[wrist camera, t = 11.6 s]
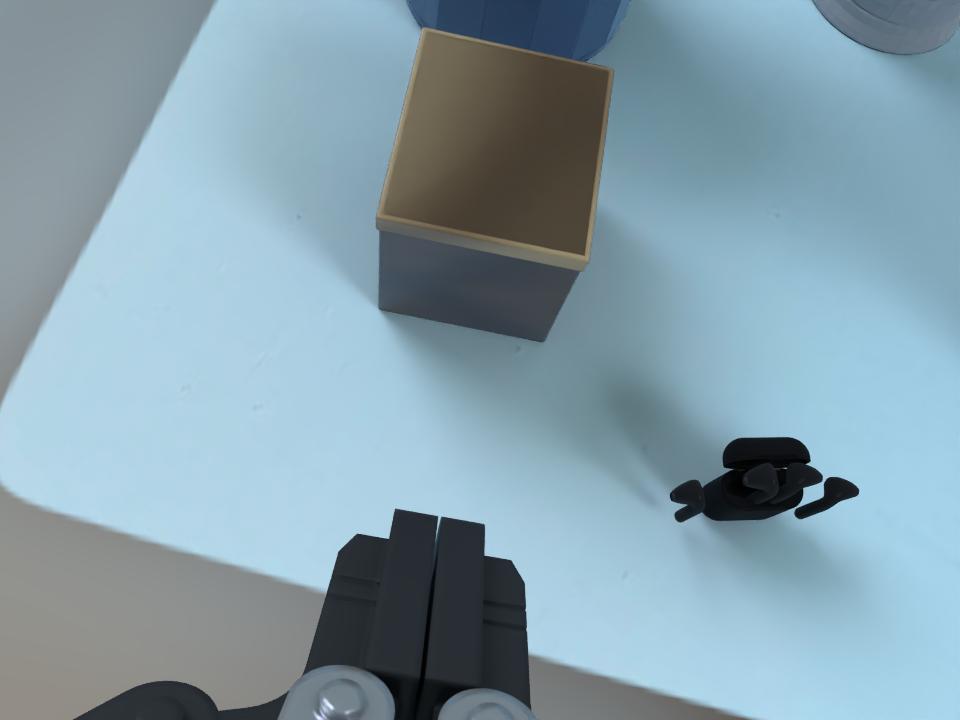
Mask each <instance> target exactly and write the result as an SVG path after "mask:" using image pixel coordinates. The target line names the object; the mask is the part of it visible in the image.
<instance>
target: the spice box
mask: <svg viewBox="0 0 960 720" xmlns="http://www.w3.org/2000/svg"><path fill="white" fill-rule="evenodd" d="M613 77H614V69H613V68H609V67H604V66H600V65H595V64H590V63H586V62H581V61H577V60H572V59H568V58H563V57H558V56H554V55H549V54H545V53H540V52H536V51H531V50H526V49H522V48H517V47H513V46H508V45H504V44H499V43H494V42H490V41H485V40H481V39H476V38H472V37H467V36H462V35H458V34H453V33H449V32H444V31H440V30H435V29H430V28H426V27H423V28H422V31H421V35H420V39H419V43H418V47H417V51H416V55H415V60H414V64H413V68H412V72H411V76H410V80H409V84H408V88H407V92H406V96H405V100H404V104H403V108H402V112H401V117H400V121H399V125H398V129H397V133H396V137H395V141H394V145H393V149H392V153H391V157H390V161H389V165H388V170H387V174H386V178H385V182H384V186H383V190H382V194H381V198H380V202H379V206H378V210H377V214H376V229H378V230H379V294H378V308H379V309H380V310H385V311H390V312H395V313H400V314H405V315H410V316H415V317H420V318H425V319H429V320H434V321H439V322H444V323H449V324H454V325H459V326H464V327H469V328H474V329H479V330H484V331H489V332H494V333H499V334H504V335H509V336H514V337H519V338H524V339H529V340H534V341H539V342H544V341H545V339H546V337H547V335H548V333H549V331H550V329H551V327H552V325H553V323H554V322H555V320H556V318H557V316H558V314H559V312H560V310H561V308H562V306H563V304H564V302H565V300H566V298H567V296H568V294H569V292H570V290H571V288H572V286H573V284H574V282H575V280H576V278H577V276H578V274H579V272H580V271H584V270H585V269H586V267H587V265H588V263H589V260H590V253H591V245H592V237H593V230H594V222H595V214H596V207H597V199H598V191H599V184H600V176H601V169H602V161H603V153H604V146H605V138H606V130H607V123H608V115H609V107H610V100H611V92H612V84H613Z"/></svg>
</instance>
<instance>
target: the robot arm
mask: <svg viewBox="0 0 960 720" xmlns="http://www.w3.org/2000/svg"><path fill="white" fill-rule="evenodd" d="M437 523H438V516H434V515H428V514H423V513H417V512H411V511H406V510H400V509H395V512H394V517H393V522H392V527H391V532H390V537H389V539H385V538H379V537H374V536H368V535H362V534H356V535H355V536H354V537H353V538H352V539H351V540H350V541H349V542H348V543H347V544H346V545H345V546H344V547H343V548H342V549H341V550H340V551H339V552H338V556H337V559H336V563H335V566H334V570H333V573H332V578H331V580H330V584H329V587H328V591H327V595H326V598H325V602H324V605H323V608H322V612H321V615H320V619H319V622H318V626H317V629H316V633H315V636H314V640H313V643H312V647H311V650H310V654H309V657H308V661H307V664H306V667H305V670H304V673H303V675H302V676H301V678H300V679H298V680H297V681H296V682H295V683H294V685H293V686H292V687H291V689H290V690H289V691H288V692H287V693H285V694H284V695H282V696H281V697H279V698H277V699H275V700H273V701H270V702H268V703H265V704H262V705H259V706H254V707H248V708H241V709H232V710H223V711H218V709H217V707H216V705H215V703H214V702H213V700H212V699H211V698H210V697H209V696H208V695H207V694H205V692H203V691H202V690H200V689H198V688H197V687H195V686H192V685H189V684H187V683H182V682H177V681H157V682H151V683H146V684H143V685H140V686H137V687H134V688H132V689H130V690H128V691H126V692H124V693H122V694H120V695H118V696H116V697H115V698H112V699H111V700H109V701H107V702H105V703H103V704H101V705H99V706H97V707H96V708H94V709H92V710H90V711H88V712H86V713H85V714H83V715H81V716H79V717H77V718H75V719H73V720H537V719H536V717H535V715H534V714H533V713H532V711H531V704H530V684H529V663H528V642H527V631H526V628H527V621H526V612H525V609H526V599H525V583H524V581H523V579H522V578H521V576H520V574H519V573H518V571H517V569H516V568H515V566H514V564H513V562H512V561H511V560H507V559H501V558H495V557H490V556H484V546H485V525H484V524H481V523H475V522H469V521H464V520H458V519H452V518H447V517H441V520H440V524H439V528H438V533H437V537H436V531H437ZM435 540H436V542H435Z"/></svg>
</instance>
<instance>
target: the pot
mask: <svg viewBox="0 0 960 720" xmlns="http://www.w3.org/2000/svg"><path fill="white" fill-rule="evenodd" d="M406 1H407V4H408V6H409V8H410V10H411V12H412V14H413V16H414V18H415V19H416V20H417V22H418V23H419V24H420V26H421V27H422V28H423V27H426V28H430V29H435V30H440V31H444V32H449V33H453V34H458V35H462V36H467V37H472V38H476V39H481V40H485V41H490V42H494V43H499V44H504V45H508V46H513V47H517V48H522V49H526V50H531V51H536V52H540V53H545V54H549V55H554V56H558V57H563V58H568V59H572V60H577V61H581V62H585V61H586V60H588V59H590V58H591V57H593V56H594V55H596V54H597V53H598V52H599V51H600V50H602V49H603V48H604V47H605V46H606V45H607V43H608V42H609V41H610V40H611V39H612V38H613V36H614V34H615V33H616V31H617V29H618V27H619V25H620V23H621V21H622V20H623V19H624V17H625V15H626V13H627V10H628V7H629V5H630V2H631V0H406Z"/></svg>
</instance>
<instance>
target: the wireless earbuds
mask: <svg viewBox="0 0 960 720" xmlns="http://www.w3.org/2000/svg"><path fill="white" fill-rule="evenodd" d="M810 461H811V460H810V455H809V452H808V449H807V448H806V446H805V445H804V444H803V443H801V442H800V441H799V440H797V439H794V438H790V437H768V438H738V439H736V440H733V441H732V442H730V443H729V444H728V445H727V447H726V448H725V450H724V453H723V466H724V467H725V468H729V469H734V470H731V471H729V472H727V473H725V474H724V475H722V476H720V477H718V478H717V479H715V480H713V481H712V482H710V483H708V484H706V485H705V486H704V487H703V488H702V486H701V484H700V482H699V481H697V480H690V481H687V482H685V483H683V484H681V485H680V486H678V487H677V488H675V489H674V490H673V491H672V492H671V493H670V499H671V501H673V502H676V503H680V504H687V506H685V507H683V508H682V509H680V510H678V511H676V512H675V514H674V516H675V519H676V520H677V521H678V522H683V521H685V520H687V519H689V518H691V517H693V516H695V515H697V514H699V513H701V512H703V513H704V515H706V516H707V517H708V518H710V519H712V520H716V521H733V520H762V519H767V518H769V517H772V516H774V515H777V514H779V513H782V512H784V511H787V510H789V509H792V508H794V507H796V506H797V505H798V504H799V503H800V502H801V500H802V498H803V488H805V487H808V486H812V485H815V484H818V483H820V482H822V480H823V476H822V474H821V473H820V472H819V471H818V470H816V469H815V468H813V467H811V466H809V465H806V464H807V463H809V462H810ZM783 468H787V469H783ZM858 494H859V489H858V488H857V487H856V486H855V485H854V484H853V483H851V482H849V481H847V480H845V479H842V478H839V477H829V478H828V479H826V481H825V483H824V497H823V498H821V499H819V500H816V501H814V502H811V503H809V504H806V505H804V506H801V507H799V508H797V509H796V510H795V512H794V514H795V516H796V517H797V518H798V519H804V518H806V517H809V516H812V515H815V514H817V513H820V512H823V511H825V510H827V509H829V508H831V507H833V506H834V505H835V504H837V503H838V502H840V501H843V500H846V499H849V498H853V497H855V496H857V495H858Z"/></svg>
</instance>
